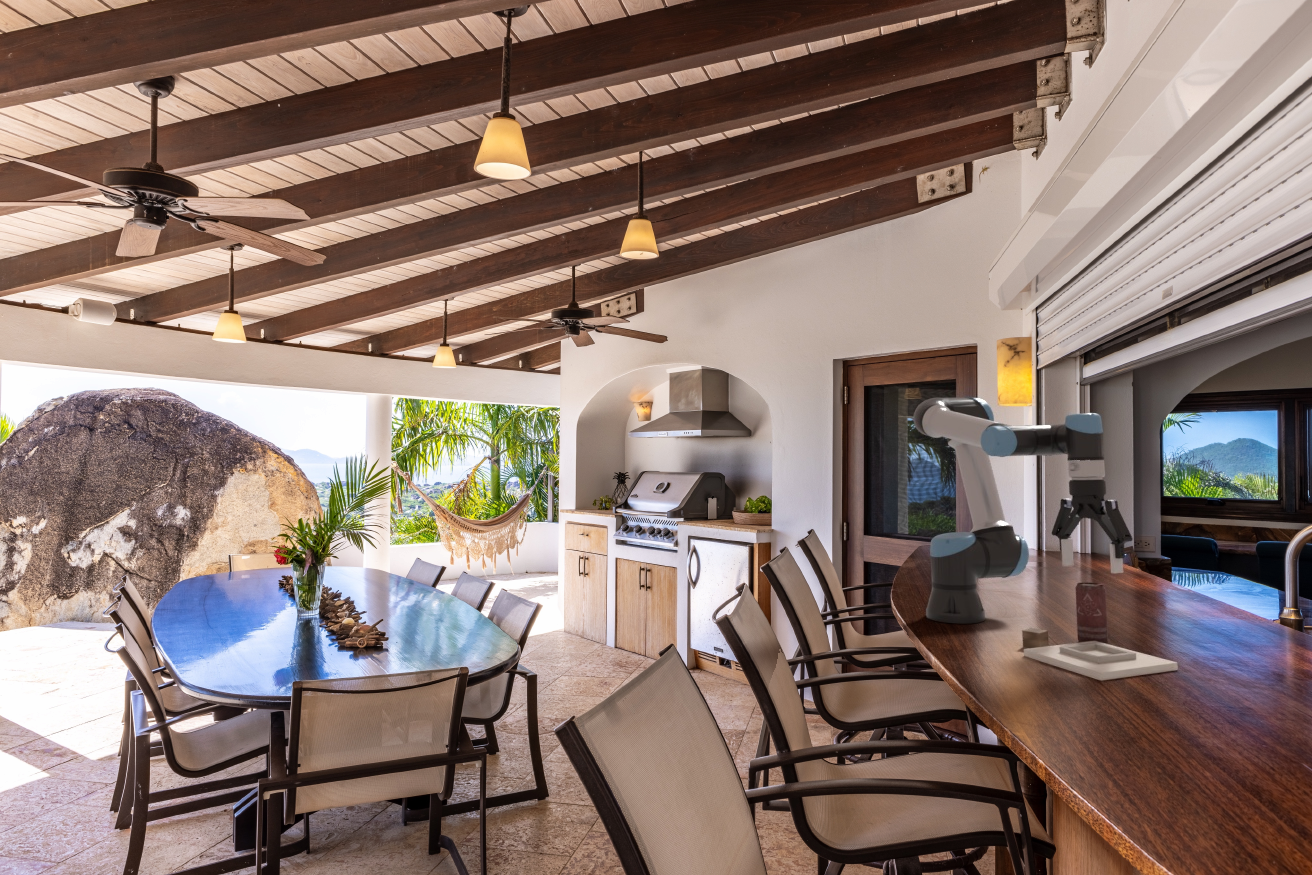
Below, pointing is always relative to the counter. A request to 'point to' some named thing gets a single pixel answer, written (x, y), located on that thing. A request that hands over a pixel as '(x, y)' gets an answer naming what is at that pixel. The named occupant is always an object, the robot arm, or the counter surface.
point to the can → (1091, 612)
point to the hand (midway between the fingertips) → (1091, 569)
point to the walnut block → (1035, 638)
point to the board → (1100, 660)
